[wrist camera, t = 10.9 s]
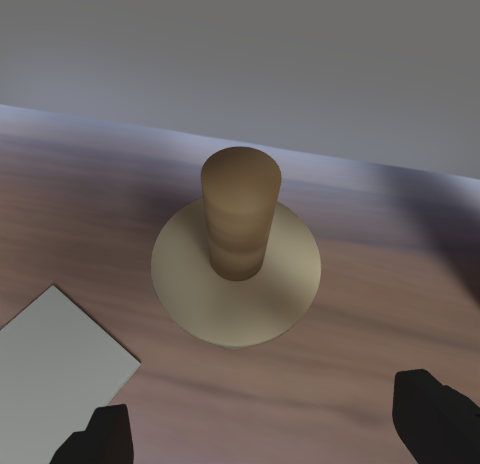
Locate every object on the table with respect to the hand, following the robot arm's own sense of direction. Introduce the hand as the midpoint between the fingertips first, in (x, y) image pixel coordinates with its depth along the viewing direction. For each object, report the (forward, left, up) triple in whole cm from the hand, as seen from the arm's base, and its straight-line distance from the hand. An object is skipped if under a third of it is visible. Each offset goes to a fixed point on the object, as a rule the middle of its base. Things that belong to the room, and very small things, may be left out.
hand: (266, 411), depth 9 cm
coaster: (+8, -15, -18) cm, 25 cm away
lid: (-6, -5, -6) cm, 10 cm away
